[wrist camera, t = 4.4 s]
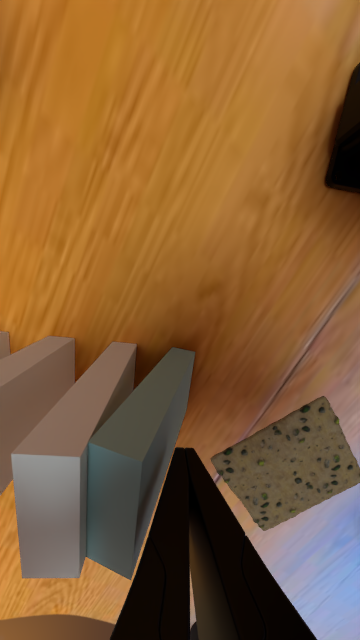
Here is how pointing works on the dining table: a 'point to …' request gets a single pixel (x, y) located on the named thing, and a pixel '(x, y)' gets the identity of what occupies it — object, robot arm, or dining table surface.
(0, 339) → the domino
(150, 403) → the domino
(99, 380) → the domino
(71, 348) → the domino
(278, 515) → the speckled square tile
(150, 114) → the dining table surface
